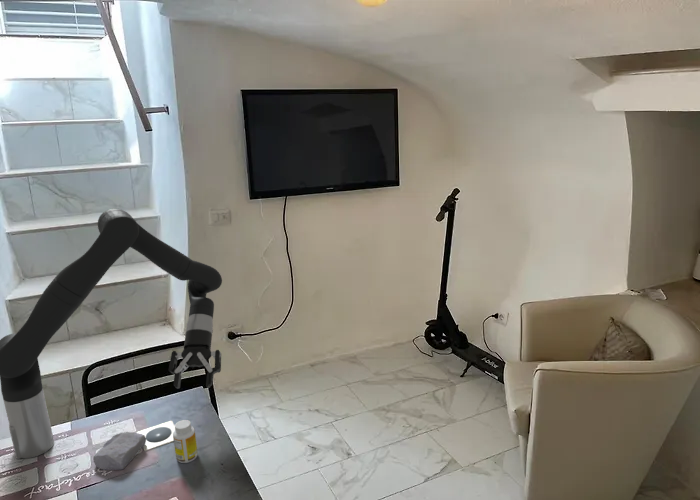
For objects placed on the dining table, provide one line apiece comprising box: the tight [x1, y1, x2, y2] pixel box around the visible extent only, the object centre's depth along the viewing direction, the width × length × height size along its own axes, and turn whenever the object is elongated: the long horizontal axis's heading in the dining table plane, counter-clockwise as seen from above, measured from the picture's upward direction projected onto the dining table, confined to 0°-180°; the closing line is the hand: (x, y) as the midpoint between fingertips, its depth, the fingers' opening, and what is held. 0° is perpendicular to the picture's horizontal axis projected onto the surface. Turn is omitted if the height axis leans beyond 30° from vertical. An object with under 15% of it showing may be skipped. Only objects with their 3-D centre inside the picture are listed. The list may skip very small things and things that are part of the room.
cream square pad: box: [136, 420, 175, 452], centre depth 152 cm, size 10×10×1 cm
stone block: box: [92, 431, 146, 471], centre depth 143 cm, size 12×5×10 cm
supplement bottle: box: [173, 419, 199, 464], centre depth 141 cm, size 6×6×10 cm
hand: (192, 387), depth 149 cm, fingers open, 8 cm apart
